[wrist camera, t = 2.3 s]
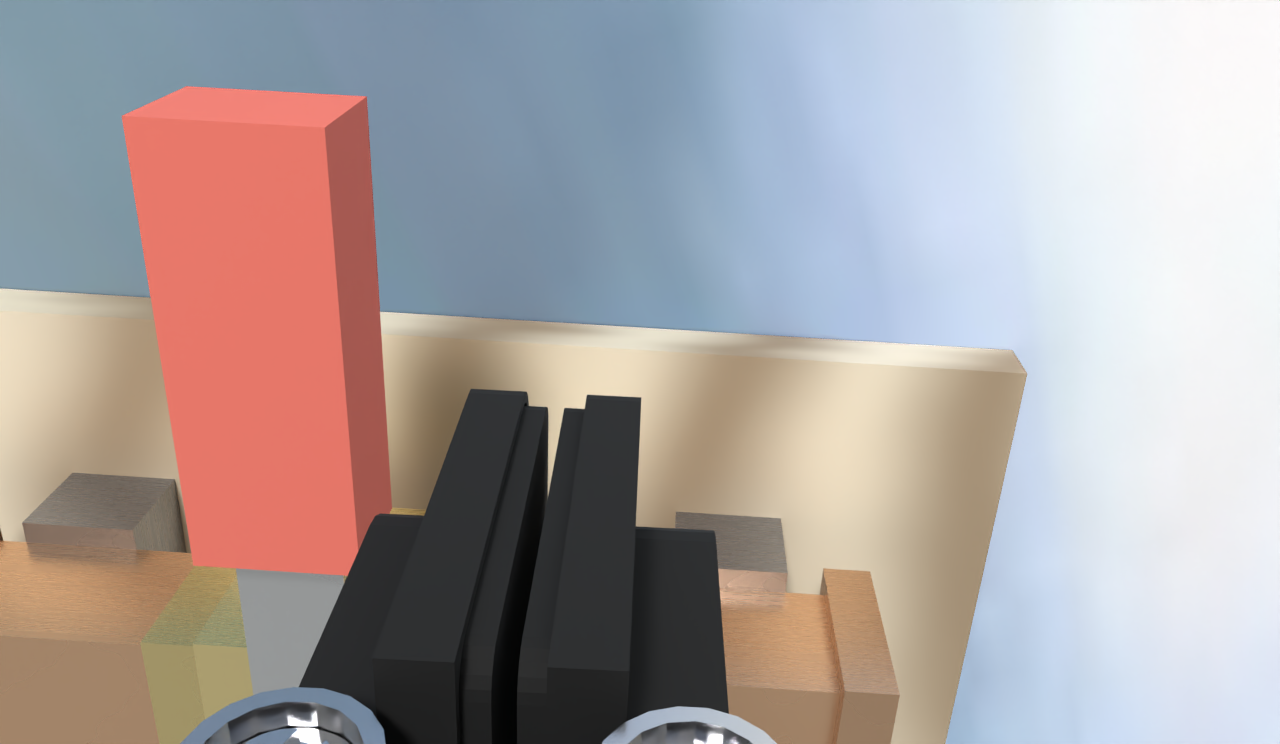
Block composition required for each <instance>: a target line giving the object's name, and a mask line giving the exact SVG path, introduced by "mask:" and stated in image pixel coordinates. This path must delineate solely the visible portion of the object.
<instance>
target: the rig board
mask: <svg viewBox="0 0 1280 744" xmlns="http://www.w3.org/2000/svg"><path fill="white" fill-rule="evenodd" d="M380 320H381V337H382V353H383V369H384V385H385V401H386V418H387V434H388V450H389V466H390V483H391V499H392V508H405V509H420V510H426V509H427V506H428V504H429V501H430V498H431V495H432V493H433V490H434V487H435V484H436V482H437V479H438V476H439V473H440V471H441V468H442V465H443V462H444V460H445V457H446V454H447V451H448V449H449V446H450V443H451V441H452V438H453V435H454V432H455V430H456V427H457V424H458V421H459V419H460V416H461V413H462V410H463V408H464V405H465V402H466V399H467V397H468V394H469V392H470V390H471V389H486V390H505V391H525V392H527V394H528V401H529V406H538V407H548V423H549V424H548V494H549V489H550V483H551V478H552V472H553V467H554V461H555V456H556V450H557V445H558V439H559V434H560V428H561V423H562V418H563V412H564V408H577V409H585V403H586V397H587V395H604V396H623V397H641V419H640V441H639V464H638V486H637V509H636V526H638V527H658V528H675V517H676V512H690V513H706V514H721V515H737V516H752V517H768V518H781V523H782V531H783V539H784V547H785V555H786V563H787V571H788V576H787V584H786V591H785V592H786V593H801V594H816V595H819V594H820V587H821V580H822V574H823V568H826V569H841V570H856V571H870V574H871V578H872V582H873V586H874V590H875V594H876V598H877V602H878V607H879V611H880V615H881V619H882V623H883V627H884V631H885V635H886V640H887V644H888V648H889V652H890V656H891V660H892V664H893V668H894V673H895V677H896V681H897V685H898V689H899V693H900V697H899V703H898V708H897V713H896V718H895V723H894V728H893V734H892V739H891V744H945V742H946V738H947V733H948V729H949V724H950V720H951V715H952V710H953V706H954V701H955V697H956V692H957V688H958V683H959V679H960V674H961V670H962V665H963V661H964V656H965V652H966V647H967V643H968V638H969V634H970V629H971V625H972V620H973V616H974V611H975V607H976V602H977V598H978V593H979V589H980V584H981V580H982V575H983V571H984V566H985V562H986V557H987V553H988V548H989V544H990V539H991V535H992V530H993V526H994V521H995V517H996V512H997V508H998V503H999V499H1000V494H1001V490H1002V485H1003V481H1004V476H1005V472H1006V467H1007V463H1008V458H1009V454H1010V449H1011V445H1012V440H1013V435H1014V431H1015V426H1016V422H1017V417H1018V413H1019V408H1020V404H1021V399H1022V395H1023V390H1024V386H1025V381H1026V377H1027V372H1026V371H1025V369H1024V368H1023V366H1022V365H1021V363H1020V361H1019V360H1018V358H1017V357H1016V355H1015V354H1014V352H1013V351H1012V350H1000V349H983V348H967V347H950V346H934V345H918V344H901V343H885V342H868V341H852V340H835V339H819V338H803V337H786V336H770V335H753V334H737V333H721V332H704V331H688V330H671V329H655V328H639V327H622V326H606V325H589V324H573V323H556V322H540V321H524V320H507V319H491V318H474V317H458V316H442V315H425V314H409V313H392V312H380ZM72 473H87V474H103V475H118V476H133V477H149V478H164V479H175V483H176V489H177V495H178V501H179V508H180V514H181V520H182V526H183V532H184V539H185V545H186V551H187V553H191V548H190V542H189V535H188V529H187V523H186V516H185V510H184V504H183V498H182V491H181V485H180V479H179V472H178V466H177V460H176V453H175V447H174V441H173V435H172V428H171V422H170V416H169V409H168V403H167V397H166V391H165V384H164V378H163V372H162V365H161V359H160V353H159V347H158V340H157V334H156V328H155V321H154V315H153V309H152V303H151V298H146V297H130V296H113V295H97V294H80V293H64V292H48V291H31V290H15V289H0V529H1V533H2V537H3V541H15V542H26V538H25V534H24V530H23V525H22V522H23V521H24V520H25V519H26V518H27V517H28V516H29V515H30V514H31V513H32V512H33V511H34V510H35V509H36V508H37V507H38V506H39V505H40V504H41V503H42V502H43V501H44V500H45V499H46V498H47V497H48V496H49V495H50V494H51V493H52V492H53V491H54V490H55V489H56V488H57V487H59V486H60V485H61V484H62V483H63V482H64V481H65V480H66V479H67V478H68V477H69V476H70V475H71V474H72Z"/></svg>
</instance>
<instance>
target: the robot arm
mask: <svg viewBox="0 0 1280 744" xmlns="http://www.w3.org/2000/svg"><path fill="white" fill-rule="evenodd" d="M640 419H641V397H623V396H604V395H587V397H586V403H585V409H577V408H564V412H563V418H562V423H561V428H560V434H559V439H558V445H557V450H556V456H555V461H554V467H553V472H552V478H551V483H550V489H549V494H548V424H549V423H548V407H538V406H529V401H528V394H527V392H525V391H505V390H486V389H471V390H470V392H469V394H468V397H467V399H466V402H465V405H464V408H463V410H462V413H461V416H460V419H459V421H458V424H457V427H456V430H455V432H454V435H453V438H452V441H451V443H450V446H449V449H448V451H447V454H446V457H445V460H444V462H443V465H442V468H441V471H440V473H439V476H438V479H437V482H436V484H435V487H434V490H433V493H432V495H431V498H430V501H429V504H428V506H427V509H426V512H425V515H424V516H421V515H402V514H382V513H380V514H378V515H376V516H375V517H374V519H373V521H372V522H371V524H370V526H369V528H368V530H367V533H366V535H365V537H364V539H363V542H362V544H361V546H360V549H359V551H358V553H357V555H356V558H355V560H354V562H353V564H352V567H351V569H350V571H349V574H348V576H347V578H346V580H345V583H344V585H343V587H342V589H341V592H340V594H339V596H338V599H337V601H336V603H335V605H334V608H333V610H332V612H331V614H330V617H329V619H328V621H327V624H326V626H325V628H324V630H323V633H322V635H321V637H320V639H319V642H318V644H317V646H316V648H315V651H314V653H313V655H312V658H311V660H310V662H309V664H308V667H307V669H306V671H305V673H304V676H303V678H302V680H301V683H300V685H299V687H291V688H285V689H279V690H272V691H266V692H261V693H258V694H255V695H253V696H250V697H247V698H245V699H242V700H239V701H237V702H234V703H231V704H229V705H228V706H226V707H224V708H223V709H221V710H220V711H218V712H216V713H215V714H213V715H212V716H210V717H208V718H207V719H205V720H203V721H202V722H201V723H200V724H199V725H198V726H197V727H196V728H195V729H194V730H193V731H192V732H191V733H190V734H189V735H188V736H187V737H186V738H185V739H184V740H183V741H182V742H181V743H180V744H777V743H776V742H775V741H774V740H773V739H772V738H771V737H770V736H769V735H768V734H767V733H765V732H764V731H763V730H761V729H759V728H758V727H756V726H754V725H752V724H750V723H749V722H747V721H745V720H743V719H741V718H740V717H738V716H734V715H731V714H729V708H728V695H727V681H726V667H725V654H724V640H723V627H722V613H721V599H720V586H719V572H718V559H717V545H716V536H715V532H714V530H697V529H678V528H658V527H638V526H636V509H637V486H638V464H639V441H640Z"/></svg>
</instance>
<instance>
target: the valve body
mask: <svg viewBox="0 0 1280 744" xmlns="http://www.w3.org/2000/svg"><path fill="white" fill-rule="evenodd" d="M425 512H426V510H420V509H405V508H392V509H391V511H390V513H389V514H402V515H421V516H424V515H425ZM22 525H23V530H24V534H25V538H26V542H15V541H3V537H2V533H1V529H0V744H180V743H181V742H182V741H183V740H184V739H185V738H186V737H187V736H188V735H189V734H190V733H191V732H192V731H193V730H194V729H195V728H196V727H197V726H198V725H199V724H200V723H201V722H202V721H203V720H205V719H207V718H208V717H210V716H212V715H213V714H215V713H216V712H218V711H220V710H221V709H223V708H224V707H226V706H228V705H229V704H231V703H234V702H237V701H239V700H242V699H245V698H247V697H250V696H253V689H252V681H251V674H250V667H249V660H248V653H247V645H246V638H245V631H244V624H243V617H242V609H241V602H240V595H239V588H238V580H237V573H236V568H223V567H208V566H193V560H192V554H191V553H187V551H186V545H185V539H184V532H183V526H182V520H181V514H180V508H179V501H178V495H177V489H176V483H175V479H164V478H149V477H133V476H118V475H103V474H87V473H72V474H71V475H70V476H69V477H68V478H67V479H66V480H65V481H64V482H63V483H62V484H61V485H60V486H59V487H57V488H56V489H55V490H54V491H53V492H52V493H51V494H50V495H49V496H48V497H47V498H46V499H45V500H44V501H43V502H42V503H41V504H40V505H39V506H38V507H37V508H36V509H35V510H34V511H33V512H32V513H31V514H30V515H29V516H28V517H27V518H26V519H25V520H24V521H23V522H22ZM675 528H678V529H697V530H714V532H715V536H716V545H717V559H718V572H719V586H720V599H721V613H722V627H723V640H724V654H725V667H726V681H727V695H728V708H729V714H731V715H734V716H738V717H740V718H741V719H743V720H745V721H747V722H749V723H750V724H752V725H754V726H756V727H758V728H759V729H761V730H763V731H764V732H765V733H767V734H768V735H769V736H770V737H771V738H772V739H773V740H774V741H775V742H776V743H777V744H891V739H892V734H893V728H894V723H895V718H896V713H897V708H898V703H899V697H900V693H899V689H898V685H897V681H896V677H895V673H894V668H893V664H892V660H891V656H890V652H889V648H888V644H887V640H886V635H885V631H884V627H883V623H882V619H881V615H880V611H879V607H878V602H877V598H876V594H875V590H874V586H873V582H872V578H871V574H870V571H856V570H841V569H826V568H823V574H822V580H821V587H820V594H819V595H816V594H801V593H786V592H785V591H786V584H787V576H788V571H787V563H786V555H785V547H784V539H783V531H782V523H781V518H768V517H752V516H737V515H721V514H706V513H690V512H676V517H675Z"/></svg>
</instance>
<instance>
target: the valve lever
mask: <svg viewBox="0 0 1280 744" xmlns="http://www.w3.org/2000/svg"><path fill="white" fill-rule="evenodd" d="M122 120H123V126H124V133H125V139H126V145H127V152H128V158H129V164H130V170H131V177H132V183H133V189H134V196H135V202H136V208H137V215H138V221H139V227H140V233H141V240H142V246H143V252H144V259H145V265H146V271H147V277H148V284H149V290H150V296H151V303H152V309H153V315H154V321H155V328H156V334H157V340H158V347H159V353H160V359H161V365H162V372H163V378H164V384H165V391H166V397H167V403H168V409H169V416H170V422H171V428H172V435H173V441H174V447H175V453H176V460H177V466H178V472H179V479H180V485H181V491H182V498H183V504H184V510H185V516H186V523H187V529H188V535H189V542H190V548H191V554H192V560H193V566H208V567H223V568H236V573H237V580H238V588H239V595H240V602H241V609H242V617H243V624H244V631H245V638H246V645H247V653H248V660H249V667H250V674H251V681H252V689H253V695H255V694H258V693H261V692H266V691H272V690H279V689H285V688H291V687H299V685H300V683H301V680H302V678H303V676H304V673H305V671H306V669H307V667H308V664H309V662H310V660H311V658H312V655H313V653H314V651H315V648H316V646H317V644H318V642H319V639H320V637H321V635H322V633H323V630H324V628H325V626H326V624H327V621H328V619H329V617H330V614H331V612H332V610H333V608H334V605H335V603H336V601H337V599H338V596H339V594H340V592H341V589H342V587H343V585H344V583H345V580H346V578H347V576H348V574H349V571H350V569H351V567H352V564H353V562H354V560H355V558H356V555H357V553H358V551H359V549H360V546H361V544H362V542H363V539H364V537H365V535H366V533H367V530H368V528H369V526H370V524H371V522H372V521H373V519H374V517H375V516H376V515H378V514H380V513H382V514H389V513H390V511H391V509H392V499H391V483H390V466H389V450H388V434H387V418H386V401H385V385H384V369H383V353H382V337H381V320H380V304H379V288H378V272H377V255H376V239H375V223H374V207H373V191H372V174H371V158H370V142H369V126H368V110H367V97H365V96H348V95H330V94H312V93H294V92H277V91H259V90H241V89H224V88H206V87H188V86H186V87H184V88H182V89H180V90H178V91H175V92H173V93H171V94H169V95H167V96H165V97H162V98H160V99H158V100H156V101H154V102H151V103H149V104H147V105H145V106H143V107H140V108H138V109H136V110H134V111H132V112H129V113H127V114H125V115H123V116H122Z"/></svg>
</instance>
